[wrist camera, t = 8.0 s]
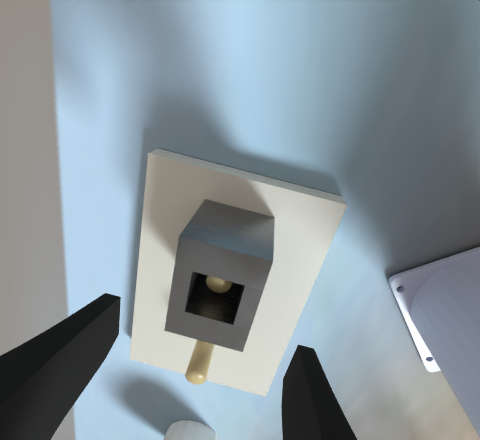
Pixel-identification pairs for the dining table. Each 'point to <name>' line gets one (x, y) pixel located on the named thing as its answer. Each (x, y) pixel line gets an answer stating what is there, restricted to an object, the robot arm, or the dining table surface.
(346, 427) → the robot arm
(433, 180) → the dining table surface
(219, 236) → the grey hollow block
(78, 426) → the dining table surface
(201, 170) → the housing base
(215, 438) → the white faceted cup
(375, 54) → the dining table surface
